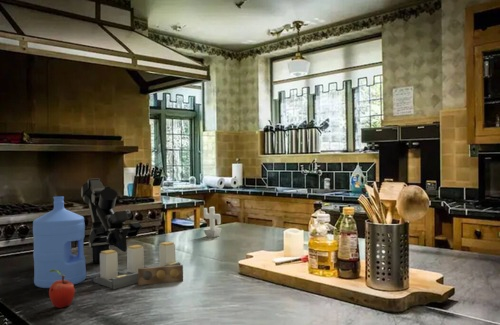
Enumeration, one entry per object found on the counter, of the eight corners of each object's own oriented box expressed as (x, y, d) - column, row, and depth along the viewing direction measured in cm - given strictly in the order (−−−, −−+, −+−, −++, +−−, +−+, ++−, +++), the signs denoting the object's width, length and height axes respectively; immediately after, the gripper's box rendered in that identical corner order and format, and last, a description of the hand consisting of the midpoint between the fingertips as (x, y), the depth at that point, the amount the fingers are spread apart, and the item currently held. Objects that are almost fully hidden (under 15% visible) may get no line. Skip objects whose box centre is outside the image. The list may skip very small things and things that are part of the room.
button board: (93, 281, 138) (93, 271, 138) (159, 265, 158) (158, 257, 158) (114, 289, 130) (113, 278, 130) (180, 271, 150) (180, 261, 150)
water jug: (29, 291, 130) (26, 200, 130) (39, 277, 145) (37, 196, 145) (83, 286, 134) (81, 197, 134) (88, 273, 149) (86, 194, 149)
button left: (100, 277, 137) (99, 251, 137) (111, 275, 140) (110, 249, 140) (106, 280, 135) (106, 253, 135) (117, 277, 138) (117, 250, 138)
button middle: (127, 271, 145) (126, 246, 145) (137, 269, 148) (136, 244, 148) (134, 273, 142) (133, 247, 142) (144, 270, 145) (143, 245, 145)
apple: (80, 301, 119) (79, 266, 119) (70, 310, 112) (69, 272, 112) (52, 302, 119) (51, 267, 118) (41, 311, 112) (40, 273, 112)
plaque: (138, 285, 134) (138, 269, 134) (138, 283, 135) (138, 268, 135) (183, 281, 137) (182, 265, 137) (182, 280, 138) (182, 264, 138)
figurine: (217, 237, 212) (216, 208, 212) (201, 236, 216) (200, 207, 216) (224, 235, 219) (223, 206, 219) (208, 234, 223) (207, 205, 223)
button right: (159, 267, 149) (158, 243, 149) (168, 265, 152) (168, 241, 152) (166, 269, 147) (165, 244, 147) (175, 266, 150) (175, 242, 150)
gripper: (91, 205, 146) (109, 240, 138) (138, 200, 159) (156, 232, 152) (81, 226, 151) (97, 261, 144) (127, 219, 165) (144, 251, 157)
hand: (125, 251), depth 149 cm, fingers closed
